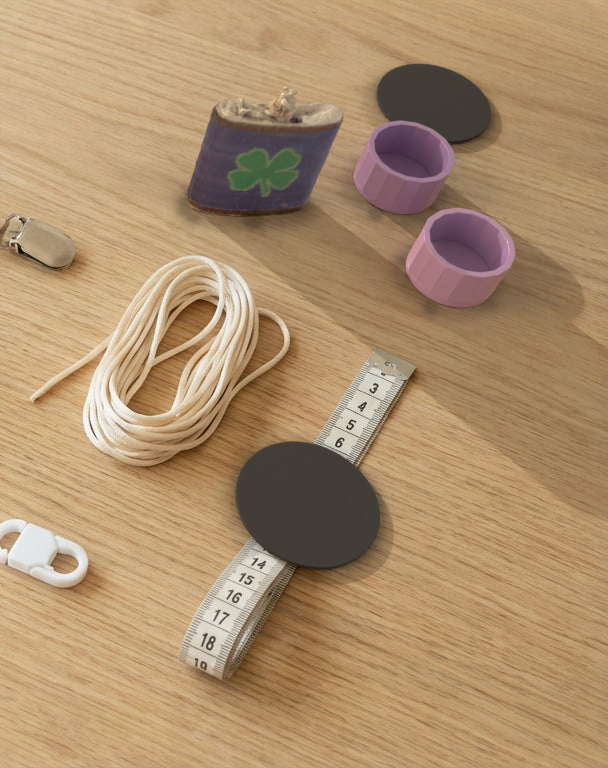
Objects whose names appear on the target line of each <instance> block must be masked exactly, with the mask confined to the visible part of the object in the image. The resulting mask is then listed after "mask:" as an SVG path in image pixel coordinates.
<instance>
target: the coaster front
mask: <svg viewBox="0 0 608 768" xmlns="http://www.w3.org/2000/svg"><path fill="white" fill-rule="evenodd" d="M234 489H235V490H234V496H235V505H236V509H237V513H238V516H239V518H240V520H241V522H242V524H243V526H244V528H245V530H247V532H248V534H250V536H251V538H253V540H255V542H256V543H258V545H260V546H261V548H263V549H264V550H265V551H266V552H268V553H269V554H271V555H273V556H274V557H275V558H278V559H279V560H281V561H284V562H286V563H288V564H291V565H293V566H297V567H300V568H304V569H310V570H330V569H331V570H332V569H338V568H340V567H344V566H347V565H349V564H351V563H353V562H355V561H357V560H358V559H360V558H361V557H362V556H364V555H365V553H366V552H368V550H369V548H370V547H371V546H372V545H373V543H374V541H375V539H376V538H377V535H378V531H379V528H380V523H381V522H380V519H381V513H380V506H379V501H378V498H377V495H376V493H375V491H374V488H373V487H372V485H371V483H370V481H369V480H368V479H367V478H366V476H365V475H364V474H363V472H362V471H361V470H360V469H359V468H358V467H357V466H356V465H355V464H354V463H352V462H351V461H350V460H348V459H347V458H346V457H344V456H343V455H341V454H340V453H338V452H336V451H334V450H332V449H329V448H327V447H326V446H323V445H319V444H316V443H311V442H306V441H299V440H298V441H297V440H296V441H295V440H294V441H289V440H288V441H282V442H276V443H273V444H269V445H267V446H265V447H263V448H261V449H259V450H258V451H256V452H255V453H254V454H253V455H251V456H250V457H249V458H248V459H247V460H246V461H245V463H244V465H243V466H242V467H241V469H240V471H239V473H238V476H237V479H236V483H235V488H234Z"/></svg>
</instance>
